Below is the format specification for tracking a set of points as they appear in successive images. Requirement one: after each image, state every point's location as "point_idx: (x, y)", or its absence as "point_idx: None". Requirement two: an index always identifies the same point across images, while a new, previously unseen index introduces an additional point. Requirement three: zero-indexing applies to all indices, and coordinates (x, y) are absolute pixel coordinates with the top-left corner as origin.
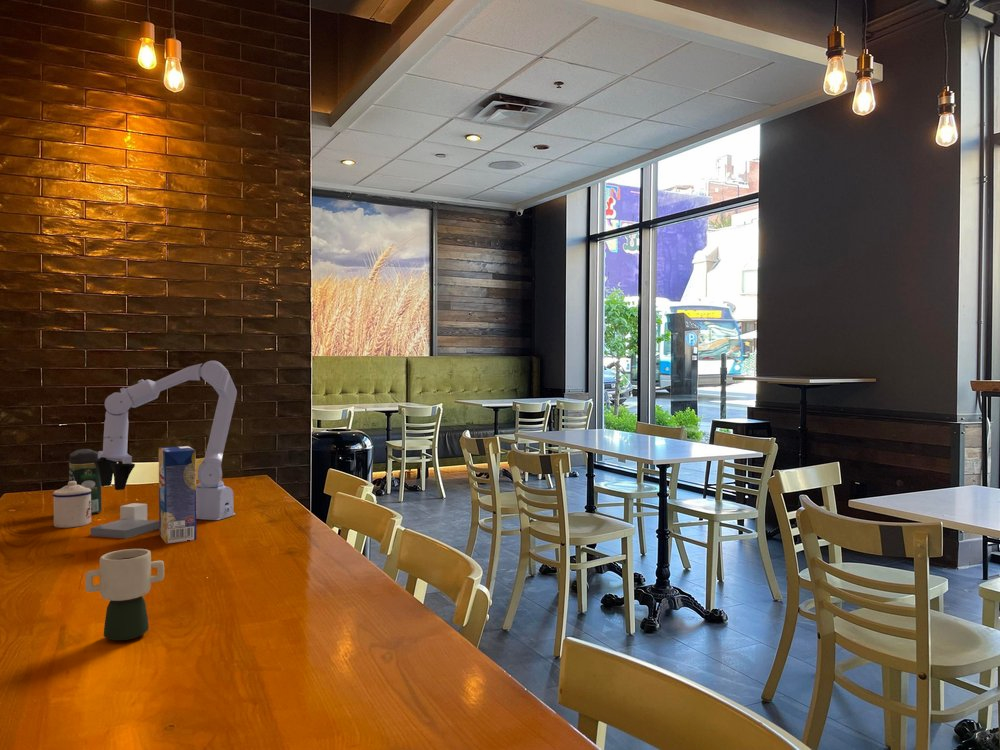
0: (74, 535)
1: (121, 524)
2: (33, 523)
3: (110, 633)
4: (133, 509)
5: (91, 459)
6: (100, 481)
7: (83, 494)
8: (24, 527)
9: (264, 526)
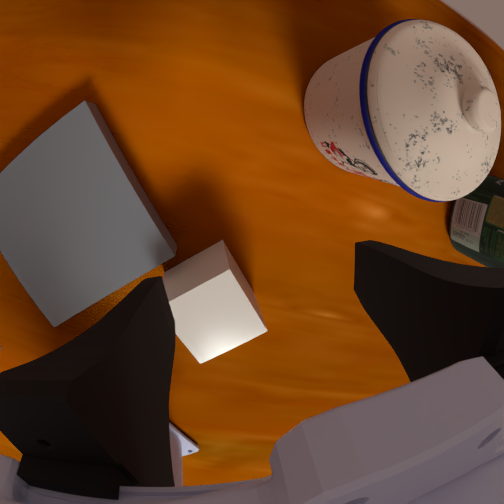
0: (145, 57)
1: (63, 212)
2: None
3: None
4: None
5: None
6: (389, 245)
7: (365, 125)
8: (415, 13)
9: (3, 438)
